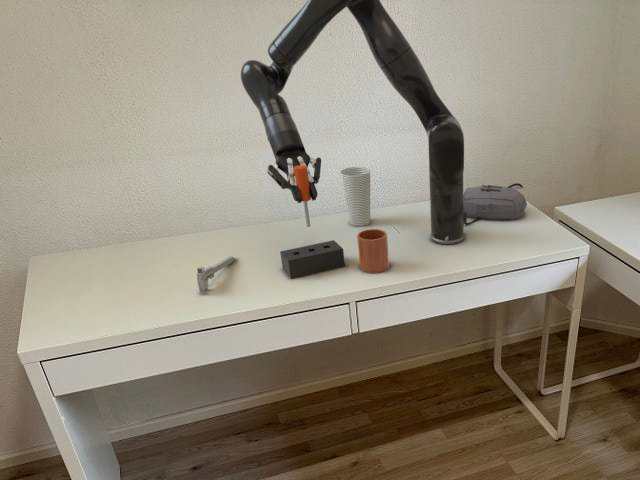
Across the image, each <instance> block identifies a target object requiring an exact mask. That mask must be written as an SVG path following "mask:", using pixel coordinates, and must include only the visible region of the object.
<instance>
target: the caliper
mask: <svg viewBox="0 0 640 480" xmlns="http://www.w3.org/2000/svg"><path fill="white" fill-rule="evenodd" d="M235 260H236V257H235V256H231V255H230V256H228V257H226V258H224V259H222V260H220V261H219V262H217V263H216V264H214V265H212V266H211V265H209V266H206V267H204V266H199V267H198V268H196V271H197V272H196V282H197V286H198V291H199V293H201V294H205V293H206V292H209V279H210V280H212V279H213V278H214V277H215V274H216V273H217V272H219V271H221V270H223V269H224V268H226V267H228V266H229V265H231V264H232V263H234V262H235Z"/></svg>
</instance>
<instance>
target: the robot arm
mask: <svg viewBox="0 0 640 480" xmlns="http://www.w3.org/2000/svg"><path fill="white" fill-rule="evenodd" d="M345 9H348V10H349V13H351V15H352V16H353V18H354V19H355V21H356V22H357V23H358V25H359V27H360V29H361V31H362V33H363V35H364V39H365V40H366V43H367V45H368V47H369V50H370V52H371V54H372V57H373V59H374V60H375V62H376V64H377V65H378V68H379V69H380V70H381V72H382V73H383V75H384V77H385V78H386V79H387V80H388V82H389V83H390V85H391V86H392V87H393V89H394V90H395V91H396V92H397V94H399V95H400V97H402V99H403V100H404V101H405V102H406V103H408V105H409V106H410V107H411V108H412V110H413V111H414V112H415V114H416V116H417V117H418V119H419V121H420V123H421V125H422V126H423V127H422V128H424V130H425V133H426V135H427V140H428V141H427V143H428V145H427V146H428V173H429V174H428V176H429V177H428V178H429V179H428V180H429V206H430V208H429V210H430V239H431V241H432V242H434V243H436V244H440V245H455V244H458V243H461V242H462V241H463V240H464V239H465V228H464V227H465V226H470V225H471V224H474V223H476V222H477V221H479V220H481V219H480V217H478V218H475V219H473V220H472V221H470V222H468V216H467V212H464V204H463V195H464V173H465V172H464V171H465V136H464V131H463V128H462V125H461V123H460V122H459V121H458V120H457V118H456V117H455V116H454V115H453V114H452V112H451V111H450V110H449V108H448V107H447V106H446V104H445V103H444V102H443V101H442V99H441V98H440V96H439V94H438V93H437V92H436V91H437V90H435V88H434V86H433V84H432V81H431V80H430V79H431V78H430V77H429V75H428V73H427V71H426V70H425V68H424V66H423V64H422V62H421V60H420V59H419V57H418V55H417V54H416V52H415V51H414V49H413V47H412V46H411V45H410V43H409V41H408V40H407V38H406V37H405V35H404V33H403V32H402V31H401V30H400V28H399V26H398V25H397V24H396V22H395V21H394V19H393V18H392V17H391V16H390V14H389V13H388V11H387V10H386V8H385V7H384V6H383V4H382V2H381V0H307V1H305V3H304V4H303V6H302V7H301V8H300V10H299V11H298V12H297V13H296V14H295V15H294V16H293V17H292V18H291V19H290V20H289V21H288V23H286V25H285V26H284V27H283V28H282V29H281V30H280V32H278V34H277V35H276V36H275V38H274V39H273V40H272V41H271V42H270V44H269V45H268V47H267V55H268V56H269V58H270V60H272V63H271V64H270V65H268V64H265V63H263V62H261V61H259V60H256V59H250V60H247V61H245V62H244V63H243V65H242V66H241V69H240V80H241V84H242V86H243V88H244V91H245V93H247V95H248V97H249V98H250V100H251V102H252V103H253V105H254V106H255V107H256V109H257V110H258V112H259V115H260V119H261V120H262V123H263V124H262V125H263V126H264V130H265V135H266V139H267V141H268V143H269V145H270V148H271V150H272V153H273V156H274V159H275V163H274V164H269V165H268V166H267V174H268V175H269V176H270V177H271V178H272V179H273V180H274V182H275V183H276V184H277V185H278V186H279V187H280V188H281V189H282V190H286V189H287V190H289V191H290V192H291V195H292V198H293V201H295V202H297V204H301V203H303V201H302V197H301V194H300V192H299V189H298V186H296V179H295V172H294V167H295V166H298V165H305V166H307V173H308V180H309V187H310V195H311V201H316V200H317V198H318V194H319V193H318V190H317V188H316V184H318V183H319V181H320V178H321V168H322V158H321V157H316V158H312V157H311V156H310V155H309V154H308V153H307V151H306V147H305V146H304V143H303V141H302V138H301V135H300V132H299V130H298V127H297V124H296V123H295V121H294V119H293V117H292V114H291V111H290V109H289V107H288V104H287V102H286V100H285V99H284V97H283V96H281V95H280V94H281V92H282V91H283V90H284V89H285V87H286V84H287V82H288V80H289V78H290V77H291V76H290V75H291V73H292V71H293V69H294V67H295V65H297V63H298V62H299V61H300V60H301V59H302V58H303V56H304V55H305V54H306V53H307V51H308V50H310V48H311V47H312V45H313V44H314V42H315V41H316V40H317V38H318V37H319V35H320V34H321V32H322V31H323V30H324V29H325V27H326V26H327V25H328V24H329V23H330V22H331V21H332V20H333V19H335V17H336V16H338V14H339V13H341V12H342V11H343V10H345ZM309 165H311V167H312V168H313V170H314V171H313V176H312V174H311V171H310V169H309V168H308V167H309ZM279 171H281V172H282V173H284V174H285V175H286V178H285V177H284V176H283V175H282V173H280V172H279ZM517 186H519V187H520V188H523V187H524V186H523V185H522V184H521V183H518V182H517V183H513V184H510V185H508V186H507V187H508V188H511V189H512V188H513V187H517Z"/></svg>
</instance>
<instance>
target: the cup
mask: <svg viewBox="0 0 640 480" xmlns="http://www.w3.org/2000/svg"><path fill="white" fill-rule="evenodd" d="M340 178H341V182H342V188H343V193H344V198H345V203H346V208H347V209H346V210H347V214H348V219H349V223H350V225H352V226H354V227H362V226H363V227H364V226H367V225H370V223H371V169H369V168H367V167H364V166H351V167H346V168H343V169H342V170H340Z"/></svg>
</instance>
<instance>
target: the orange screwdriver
mask: <svg viewBox="0 0 640 480" xmlns="http://www.w3.org/2000/svg"><path fill="white" fill-rule="evenodd" d="M294 172H295V183H296V184H295V185H296V186H298V189H299V192H300V194H301V197H302V203H303V209H304V216H305V217H304V218H305V224H306V227H307V228H309V227H311V220H310V212H309V207H308V202H309V201H312V198H311V195H310V187H309V180H308V173H307V166H305V165H298V166H295V167H294Z"/></svg>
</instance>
